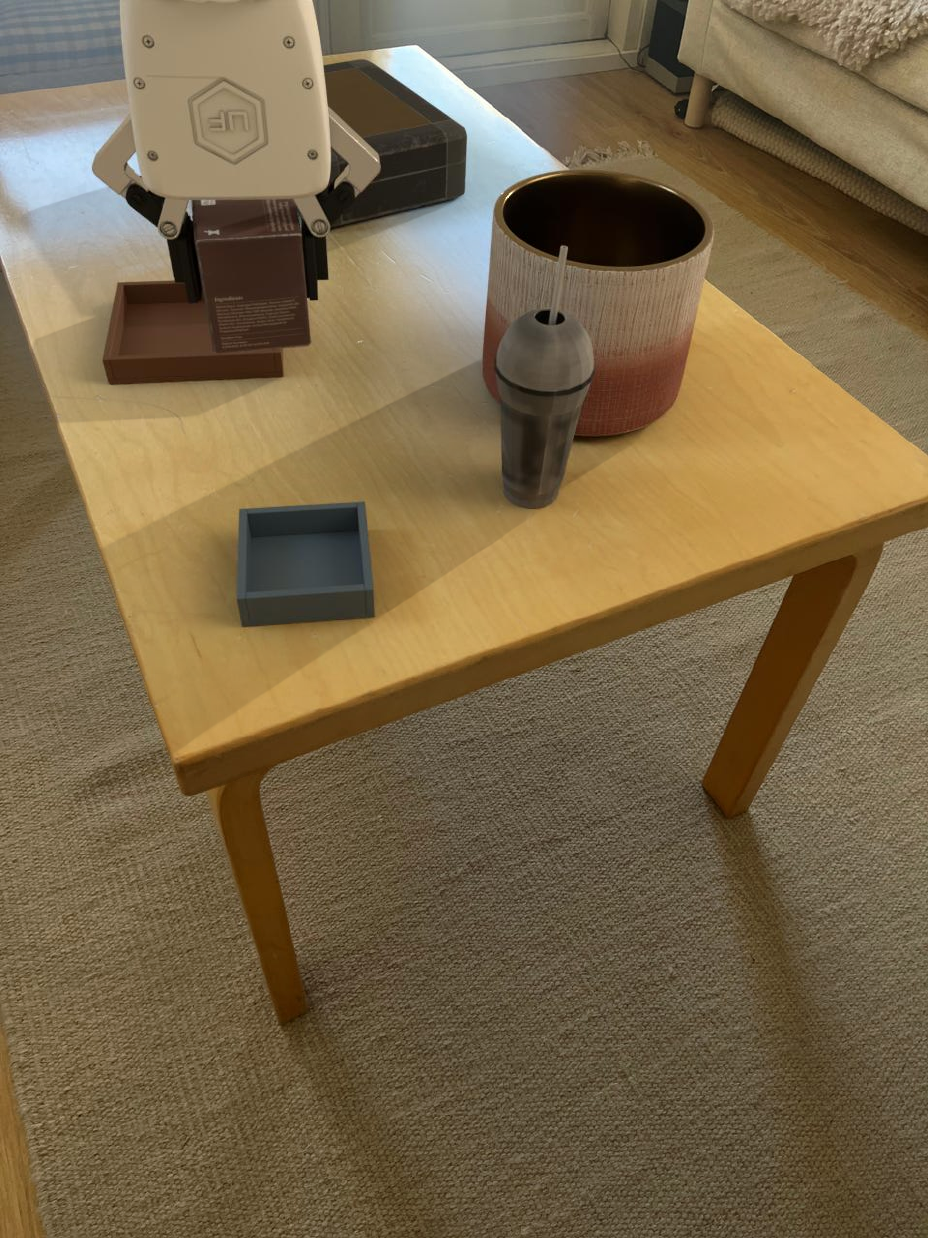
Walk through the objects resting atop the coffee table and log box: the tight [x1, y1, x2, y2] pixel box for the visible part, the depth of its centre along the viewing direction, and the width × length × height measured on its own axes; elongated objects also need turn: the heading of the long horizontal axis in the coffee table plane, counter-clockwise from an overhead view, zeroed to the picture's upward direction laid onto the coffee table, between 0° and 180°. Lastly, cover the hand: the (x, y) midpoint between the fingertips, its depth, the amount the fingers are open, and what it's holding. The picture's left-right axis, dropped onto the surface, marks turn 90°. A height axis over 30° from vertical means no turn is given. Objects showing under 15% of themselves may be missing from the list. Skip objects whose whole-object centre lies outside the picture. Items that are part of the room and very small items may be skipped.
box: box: [190, 199, 312, 354], centre depth 60 cm, size 6×6×7 cm
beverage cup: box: [494, 246, 595, 509], centre depth 72 cm, size 7×7×20 cm
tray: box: [102, 279, 284, 385], centre depth 91 cm, size 15×13×2 cm
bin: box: [236, 501, 376, 627], centre depth 71 cm, size 9×9×3 cm
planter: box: [482, 168, 715, 438], centre depth 84 cm, size 18×18×16 cm
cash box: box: [295, 58, 468, 229], centre depth 115 cm, size 25×20×8 cm
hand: (254, 287), depth 60 cm, fingers closed on box, 6 cm apart
